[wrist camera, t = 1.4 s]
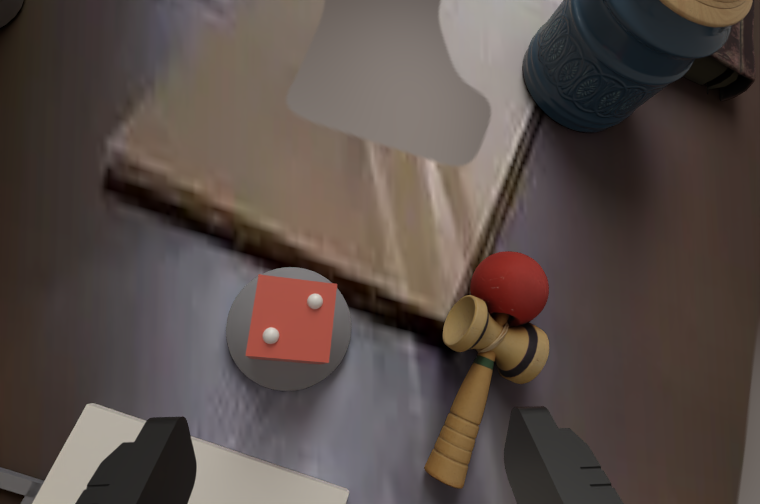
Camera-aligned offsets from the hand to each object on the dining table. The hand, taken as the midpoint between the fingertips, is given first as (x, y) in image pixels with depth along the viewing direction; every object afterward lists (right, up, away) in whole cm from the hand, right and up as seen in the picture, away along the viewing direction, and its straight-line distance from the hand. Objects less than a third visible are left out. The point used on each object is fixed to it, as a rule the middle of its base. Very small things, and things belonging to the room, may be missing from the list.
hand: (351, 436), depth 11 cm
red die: (-6, -1, +21) cm, 22 cm away
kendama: (+8, -5, +24) cm, 26 cm away
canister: (+22, +23, +36) cm, 48 cm away
